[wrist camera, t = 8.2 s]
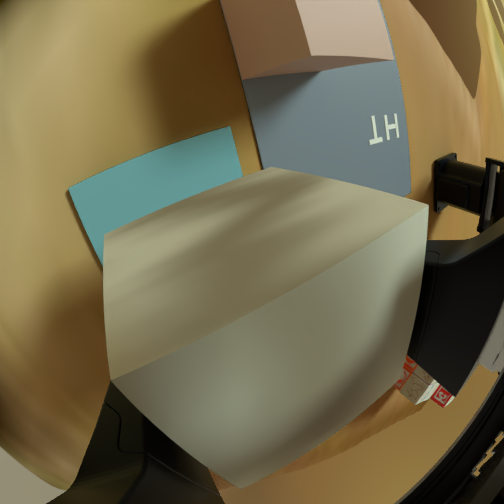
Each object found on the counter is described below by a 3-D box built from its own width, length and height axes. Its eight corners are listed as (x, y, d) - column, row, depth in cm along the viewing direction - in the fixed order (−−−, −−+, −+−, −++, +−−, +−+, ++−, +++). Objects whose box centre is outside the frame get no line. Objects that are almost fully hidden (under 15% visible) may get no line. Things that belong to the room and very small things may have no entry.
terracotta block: (300, -3, 13) (365, -31, 8) (321, 71, 15) (394, 60, 11) (218, -6, 11) (274, -56, 6) (242, 79, 13) (311, 55, 9)
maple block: (271, 166, 10) (428, 205, 5) (297, 299, 12) (399, 379, 8) (104, 234, 8) (110, 380, 3) (175, 364, 11) (240, 489, 6)
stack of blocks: (366, 366, 33) (431, 418, 23) (392, 327, 33) (463, 374, 23) (409, 368, 46) (453, 400, 36) (426, 342, 45) (472, 372, 35)
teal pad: (227, 126, 14) (230, 126, 14) (262, 263, 19) (265, 265, 18) (69, 187, 11) (68, 188, 11) (137, 325, 16) (137, 328, 16)
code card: (377, -3, 15) (378, -3, 15) (410, 192, 24) (411, 192, 24) (211, -28, 10) (212, -29, 10) (282, 260, 19) (284, 261, 19)
